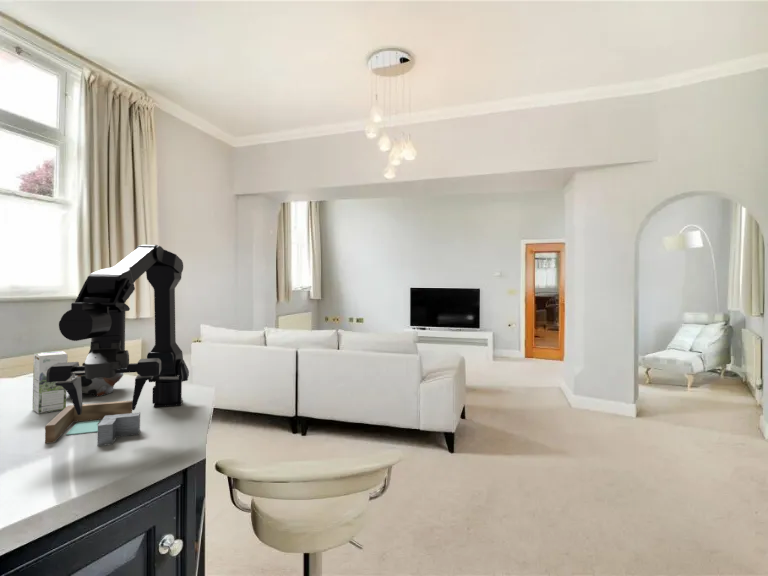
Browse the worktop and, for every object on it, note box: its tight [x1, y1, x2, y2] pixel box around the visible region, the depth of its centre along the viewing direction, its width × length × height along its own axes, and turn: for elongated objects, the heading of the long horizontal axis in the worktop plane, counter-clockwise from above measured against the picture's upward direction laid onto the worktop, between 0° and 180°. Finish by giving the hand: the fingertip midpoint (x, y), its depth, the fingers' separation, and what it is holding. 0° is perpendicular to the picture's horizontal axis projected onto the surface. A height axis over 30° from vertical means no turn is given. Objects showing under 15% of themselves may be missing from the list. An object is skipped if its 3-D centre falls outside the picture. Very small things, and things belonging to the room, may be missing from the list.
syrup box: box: [32, 350, 68, 415], centre depth 106 cm, size 6×6×14 cm
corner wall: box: [44, 399, 133, 444], centre depth 93 cm, size 13×16×4 cm
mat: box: [65, 419, 101, 436], centre depth 94 cm, size 9×8×1 cm
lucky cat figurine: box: [77, 362, 125, 397], centre depth 124 cm, size 15×12×14 cm
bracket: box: [96, 412, 141, 447], centre depth 87 cm, size 7×6×4 cm
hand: (107, 412), depth 85 cm, fingers open, 9 cm apart
